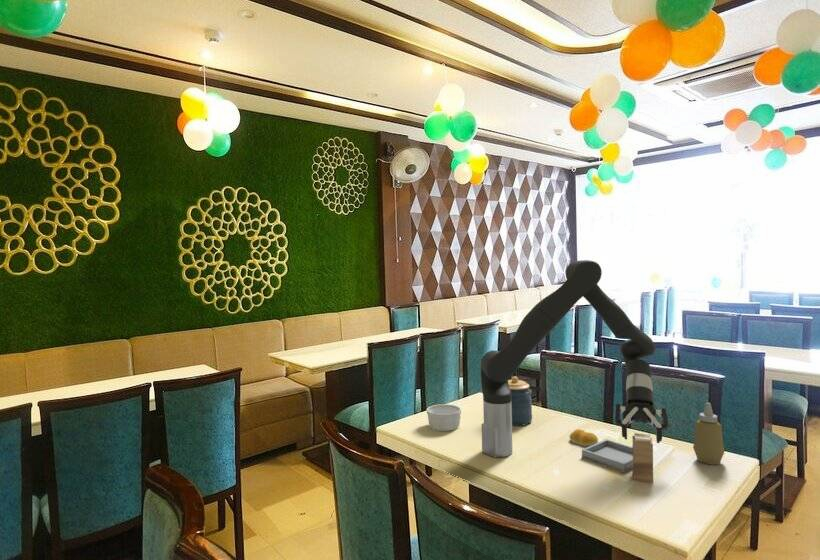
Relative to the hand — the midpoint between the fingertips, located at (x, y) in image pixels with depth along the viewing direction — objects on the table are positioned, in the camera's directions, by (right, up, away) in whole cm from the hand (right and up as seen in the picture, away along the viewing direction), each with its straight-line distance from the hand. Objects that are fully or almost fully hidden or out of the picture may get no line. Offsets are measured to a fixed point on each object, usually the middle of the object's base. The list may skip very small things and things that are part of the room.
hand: (641, 440), depth 137 cm
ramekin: (-55, -10, +43) cm, 71 cm away
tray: (-4, -9, +10) cm, 14 cm away
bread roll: (-8, -10, +25) cm, 28 cm away
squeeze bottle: (+24, -9, +7) cm, 26 cm away
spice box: (-1, -10, -3) cm, 10 cm away
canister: (-26, -9, +48) cm, 56 cm away
